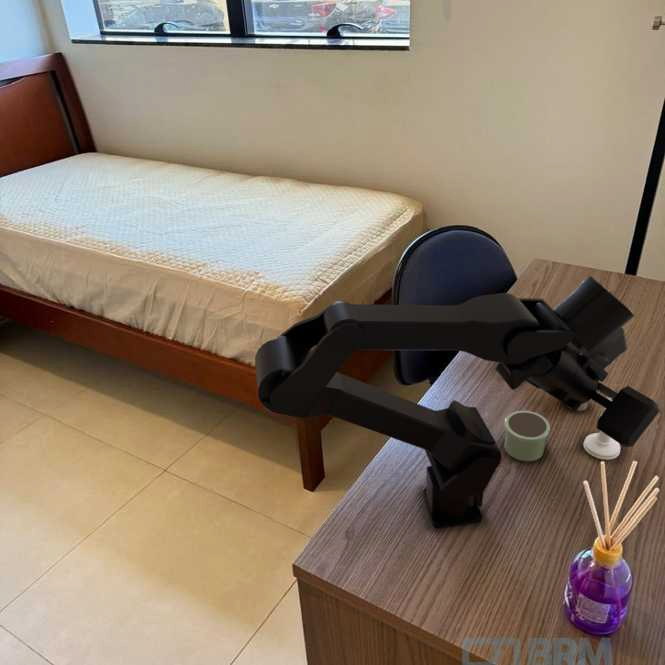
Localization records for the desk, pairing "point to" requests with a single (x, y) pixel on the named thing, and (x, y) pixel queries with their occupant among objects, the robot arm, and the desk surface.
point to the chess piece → (602, 445)
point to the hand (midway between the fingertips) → (601, 404)
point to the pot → (526, 435)
